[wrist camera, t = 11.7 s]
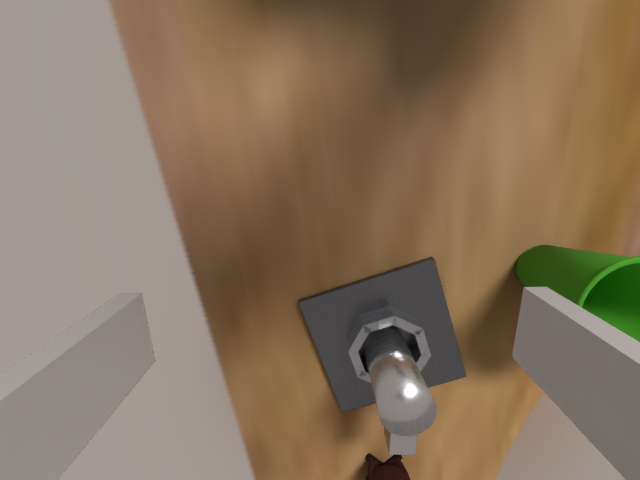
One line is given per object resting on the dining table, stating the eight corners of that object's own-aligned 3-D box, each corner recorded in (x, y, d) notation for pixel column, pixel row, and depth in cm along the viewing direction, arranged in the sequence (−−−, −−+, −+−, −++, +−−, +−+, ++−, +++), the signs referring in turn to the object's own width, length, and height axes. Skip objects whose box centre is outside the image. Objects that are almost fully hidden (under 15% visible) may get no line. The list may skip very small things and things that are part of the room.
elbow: (364, 327, 36) (380, 388, 26) (406, 327, 36) (439, 388, 26) (361, 383, 38) (376, 459, 28) (402, 383, 38) (431, 459, 28)
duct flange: (431, 256, 34) (443, 266, 31) (463, 372, 38) (476, 391, 35) (298, 299, 36) (296, 313, 33) (341, 407, 39) (343, 429, 36)
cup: (594, 253, 34) (718, 293, 24) (540, 315, 36) (632, 379, 26) (533, 212, 33) (635, 234, 23) (481, 278, 35) (551, 328, 24)
